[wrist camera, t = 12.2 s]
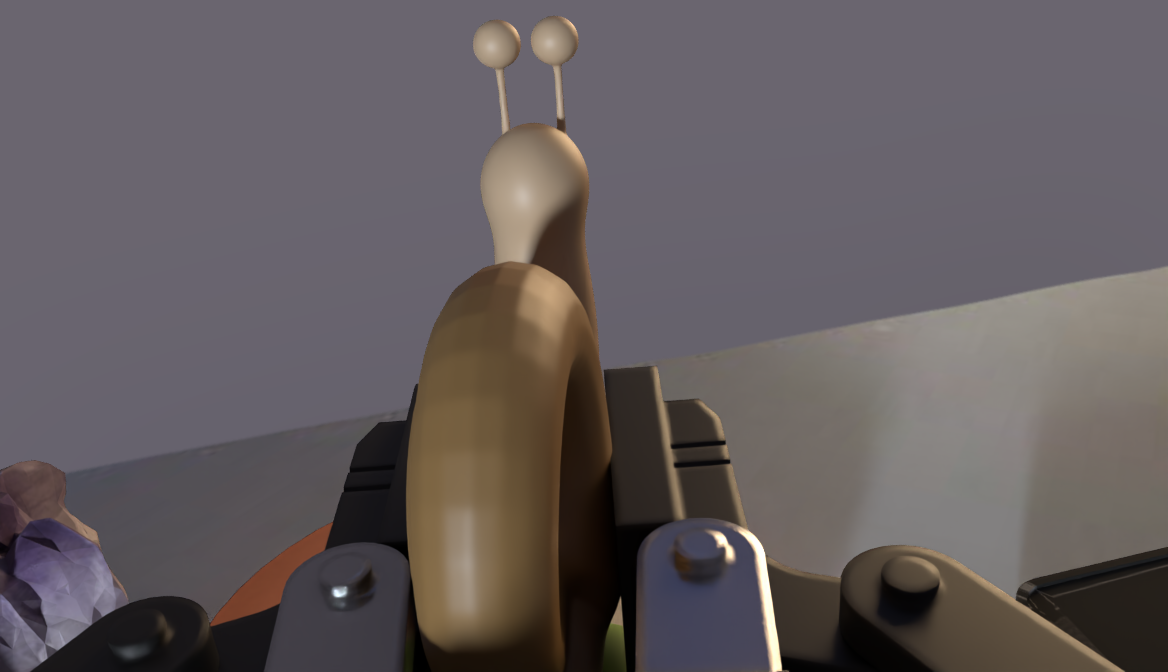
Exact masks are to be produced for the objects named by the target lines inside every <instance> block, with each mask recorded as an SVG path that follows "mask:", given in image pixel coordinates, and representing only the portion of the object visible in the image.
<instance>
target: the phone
mask: <svg viewBox="0 0 1168 672" xmlns="http://www.w3.org/2000/svg"><path fill="white" fill-rule="evenodd" d="M1016 600H1017V601H1018V602H1020V603H1021V604H1023V605H1024V606H1026V607H1027V608H1029V609H1030V610H1032V611H1033V612H1035V613H1036V614H1038V615H1040V616H1041V617H1043V618H1044V619H1046V620H1047V621H1049V622H1050V623H1052V624H1053V625H1055V626H1056V627H1058V628H1059V629H1061V630H1062V631H1064V632H1065V633H1067V634H1068V635H1070V636H1071V637H1073V638H1075V639H1076V640H1078V641H1079V642H1081V643H1082V644H1084V645H1085V646H1087V647H1088V648H1090V649H1091V650H1093V651H1094V652H1096V653H1097V654H1099V655H1100V656H1102V657H1103V658H1105V659H1107V660H1108V661H1110V662H1111V663H1113V664H1114V665H1116V666H1117V667H1119V668H1120V669H1122V670H1123V671H1125V672H1168V547H1166V548H1161V549H1157V550H1153V551H1149V552H1145V553H1140V554H1136V555H1132V556H1128V557H1123V558H1119V559H1115V560H1111V561H1107V562H1102V563H1098V564H1094V565H1090V566H1086V567H1081V568H1077V569H1073V570H1069V571H1065V572H1060V573H1056V574H1052V575H1048V576H1043V577H1039V578H1035V579H1032V580H1029V581H1027V582H1025V583H1024V584H1022V585H1021V586H1020V587H1019V589H1018V591H1017V594H1016Z"/></svg>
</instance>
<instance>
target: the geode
mask: <svg viewBox="0 0 1168 672" xmlns="http://www.w3.org/2000/svg"><path fill="white" fill-rule="evenodd" d="M65 495H66V479H65V473H64V472H62V471H61V470H59V469H57V468H55V467H54V466H52V465H51V464H48V463H44V462H40V461H36V460H34V461H25V462H19V463H16V464H14V465H12V466H9V467H7V468H5V469H1V470H0V672H30V671H32V670H33V669H34V668H36V667H37V666H38V665H39V664H41V663H42V662H43V661H45V660H46V659H47V658H49V657H50V656H51V655H53V654H54V653H55V652H57V651H58V650H59V649H60V648H62V647H63V646H64V645H66V644H67V643H68V642H70V641H71V640H72V639H74V638H75V637H76V636H77V635H79V634H80V633H81V632H83V631H84V630H85V629H87V628H88V627H89V626H91V625H92V624H93V623H95V622H96V621H97V620H99V619H100V618H102V617H103V616H105V615H106V614H108V613H110V612H112V611H114V610H115V609H118V608H120V607H122V606H125V605H127V604H128V603H129V600H128V597H127V595H126V592H125V589H124V587H123V586H122V585H121V583H120V582H119V581H118V580H117V578H116V577H115V575H114V574H113V572H112V571H111V569H110V568H109V566H108V565H107V563H106V561H105V559H104V556H103V554H102V551H101V547H100V543H99V539H98V535H97V532H96V531H95V530H93V529H91V528H90V527H88V526H86V525H84V524H83V523H82V522H80V521H79V520H78V519H77V518H76V517H74V516H73V515H72V514H70V513H69V512H68V510H67V509H66V507H65V504H64V498H65Z"/></svg>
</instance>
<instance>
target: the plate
mask: <svg viewBox="0 0 1168 672" xmlns="http://www.w3.org/2000/svg"><path fill="white" fill-rule="evenodd" d="M332 524H333V522H331V523H329V524H327V525H326V526H324V527H322V528H320V529H318V530H316V531H314V532H313V533H311V534H309V535H308V536H306V537H305V538H303V539H302V540H300V541H298V542H297V543H295V544H294V545H292V546H290V547H289V548H287V549H286V550H285V551H283V552H282V553H281V554H279V555H278V556H277V557H275V558H274V559H273V560H271V561H270V562H269V563H268V564H266V565H265V566H264V567H262V568H261V569H260V570H259V571H258V572H257V573H256V574H255V575H253V576H252V577H251V578H250V579H249V580H248V581H247V582H246V583H245V584H244V585H243V586H242V587H240V588H239V589H238V590H237V591H236V593H235V594H234V595H233V596H232V597H231V598H230V599H229V601H228V602H227V603H226V604H225V605H224V606H223V607H222V608H221V610H220V611H219V612H218V613H217V614H216V616H215V617H214V619H213V620H212V621H211V623H210V626H214V625H217V624H221V623H224V622H228V621H231V620H234V619H238V618H241V617H245V616H248V615H251V614H255V613H258V612H260V611H263V610H266V609H268V608H271V607H273V606H275V605H277V604H279V603H280V602H281V598H282V594H283V589H284V587H285V584H286V581H287V580H288V578H289V577H290V575H291V574H292V573H293V572H294V570H295V569H296V568H297V567H299V566H300V565H301V564H302V563H303V562H305V561H306V560H308V559H309V558H311V557H312V556H314V555H316V554H318V553H320V552H322V551H324V550H325V546H326V543H327V540H328V537H329V533H330V530H331V527H332ZM611 623H613V624H617V625H621V626H623V618H622V605H621V596H620V600H619V604H618V607H617V609H616V612H615V614H614V616H613V618H612V621H611Z"/></svg>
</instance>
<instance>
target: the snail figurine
mask: <svg viewBox="0 0 1168 672" xmlns="http://www.w3.org/2000/svg"><path fill="white" fill-rule="evenodd" d="M531 46H532V49H533V52H534V53H535V55H536V56H537V57H538V58H539V59H540V60H541V61H542V62H544V63H546V64H550V65H552V66H553V68H554V75H555V86H556V100H557V129H556V128H554V127H551V126H548V125H545V124H540V123H528V124H522V125H519V126H516V127H514V128H512V129H510V122H509V115H508V107H507V98H506V89H505V80H504V68H505V67H507V66H509V65H510V64H512V63H513V62H514V61H515V60H516V58H517V57H518V55H519V52H520V47H521V44H520V37H519V35H518V33H517V31H516V30H515V28H514V27H513V26H512V25H510V24H509V23H507V22H505V21H502V20H491V21H488V22H486V23H484V24H482V25H481V26H480V27H479V28H478V30H477V31H476V33H475V36H474V40H473V48H474V52H475V54H476V56H477V58H478V59H479V60H480V61H481V62H482V63H483V64H484V65H486V66H488V67H491V68H494V69H495V70H496V74H497V82H498V89H499V97H500V108H501V119H502V136H501V137H500V138H499V139H498V140H497V141H496V142H495V143H494V144H493V146H492V147H491V149H490V151H489V152H488V154H487V156H486V159H485V161H484V164H483V168H482V173H481V195H482V200H483V205H484V208H485V211H486V214H487V217H488V220H489V223H490V227H491V231H492V235H493V241H494V253H495V265H492V266H488V267H485V268H483V269H481V270H480V271H478V272H477V273H476V274H474V275H473V276H471V277H470V278H469V279H467V280H466V281H465V282H463V283H462V284H461V285H459V286H458V287H457V288H456V289H455V290H454V291H453V292H452V294H451V295H450V297H449V299H448V301H447V302H446V304H445V306H444V308H443V309H442V311H441V313H440V315H439V317H438V319H437V321H436V322H435V324H434V327H433V330H432V332H431V335H430V339H429V342H428V345H427V348H426V351H425V355H424V359H423V364H422V369H421V374H420V379H419V384H418V390H417V397H416V403H415V407H414V411H413V417H412V424H411V430H410V438H409V448H408V460H407V481H406V521H407V539H408V553H409V561H410V570H411V577H412V582H413V590H414V598H415V606H416V613H417V620H418V626H419V631H420V635H421V640H422V644H423V648H424V652H425V656H426V659H427V661H428V664H429V667H430V669H431V672H627V671H626V658H625V645H624V631H623V626H621V625H617V624H613V623H611V621H612V618H613V616H614V614H615V612H616V609H617V607H618V604H619V600H620V596H621V592H620V579H619V565H618V552H617V539H616V526H615V513H614V499H613V486H612V472H611V459H610V458H611V455H612V442H611V434H610V426H609V417H608V410H607V403H606V396H605V389H604V383H603V377H602V372H601V366H600V361H599V344H598V329H597V319H596V309H595V302H594V294H593V288H592V282H591V276H590V270H589V264H588V259H587V252H586V246H585V219H586V212H587V205H588V197H589V177H588V171H587V167H586V164H585V161H584V159H583V157H582V155H581V153H580V151H579V150H578V148H577V147H576V145H575V144H574V143H573V142H572V140H571V139H569V137H568V136H567V134H566V126H565V115H564V100H563V89H562V71H561V66H562V64H563V63H565V62H567V61H569V60H570V59H571V58H572V57H573V56H574V54H575V52H576V50H577V47H578V34H577V31H576V29H575V27H574V26H573V24H572V23H570V21H568V20H567V19H565V18H562V17H559V16H550V17H546V18H544V19H542V20H541V21H540V22H538V23H537V25H536V26H535V27H534V29H533V32H532V35H531Z"/></svg>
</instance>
